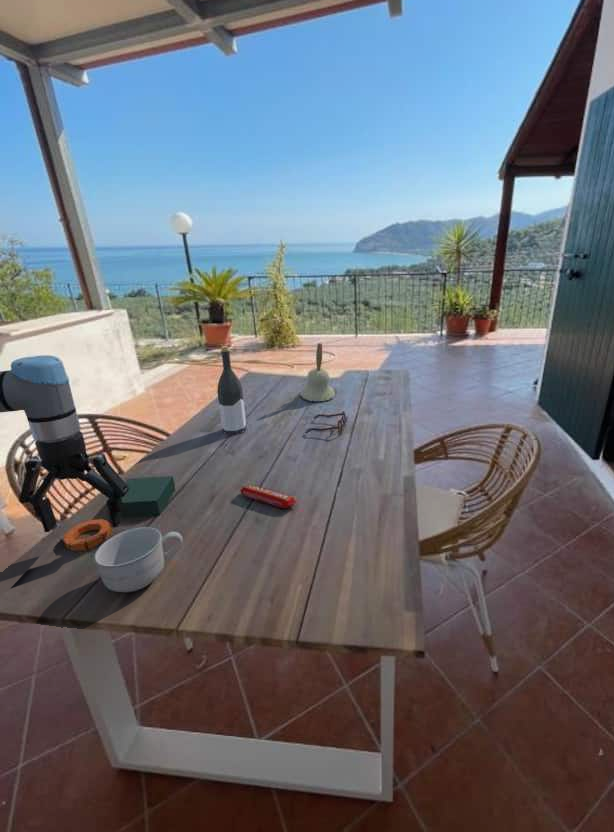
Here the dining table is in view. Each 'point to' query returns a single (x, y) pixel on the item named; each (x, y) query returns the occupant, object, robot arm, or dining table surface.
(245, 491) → the candy bar
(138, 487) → the block
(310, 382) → the handbell
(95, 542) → the ring
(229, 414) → the wine bottle
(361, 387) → the dining table surface
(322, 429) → the glasses
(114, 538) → the teacup
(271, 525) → the dining table surface
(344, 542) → the dining table surface
